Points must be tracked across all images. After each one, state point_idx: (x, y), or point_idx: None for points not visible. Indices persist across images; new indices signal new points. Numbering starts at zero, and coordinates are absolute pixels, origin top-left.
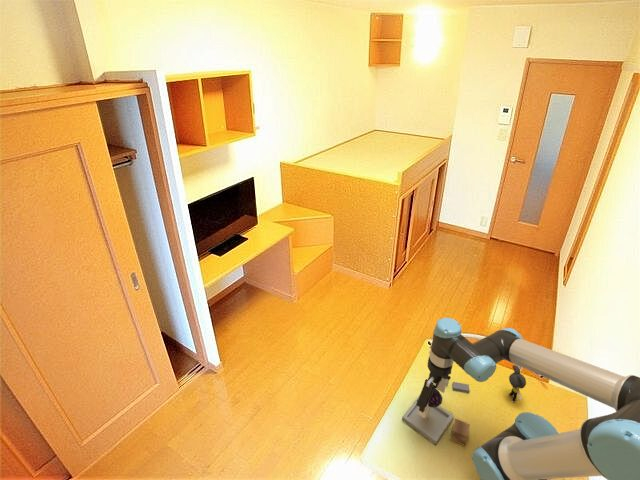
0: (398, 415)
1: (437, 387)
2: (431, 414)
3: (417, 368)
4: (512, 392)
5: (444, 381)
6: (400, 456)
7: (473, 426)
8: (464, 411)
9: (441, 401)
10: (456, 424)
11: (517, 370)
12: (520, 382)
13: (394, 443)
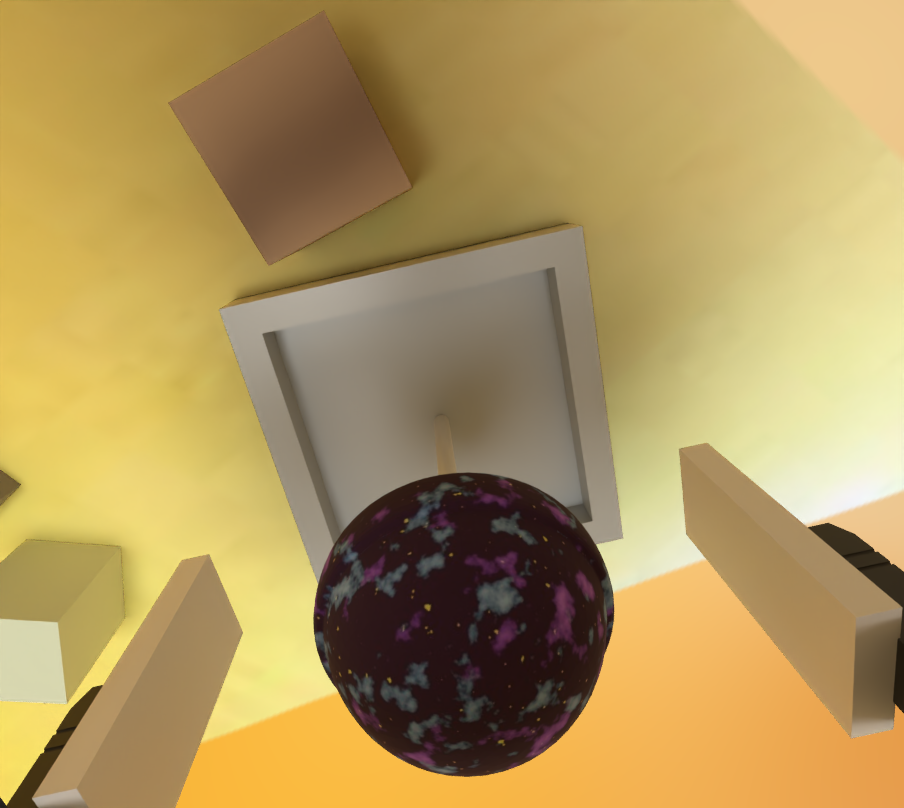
0: None
1: (230, 650)
2: (381, 429)
3: None
4: None
5: (114, 770)
6: (849, 321)
7: (108, 132)
8: (73, 289)
9: (421, 506)
10: (316, 204)
11: None
12: None
13: (796, 415)
